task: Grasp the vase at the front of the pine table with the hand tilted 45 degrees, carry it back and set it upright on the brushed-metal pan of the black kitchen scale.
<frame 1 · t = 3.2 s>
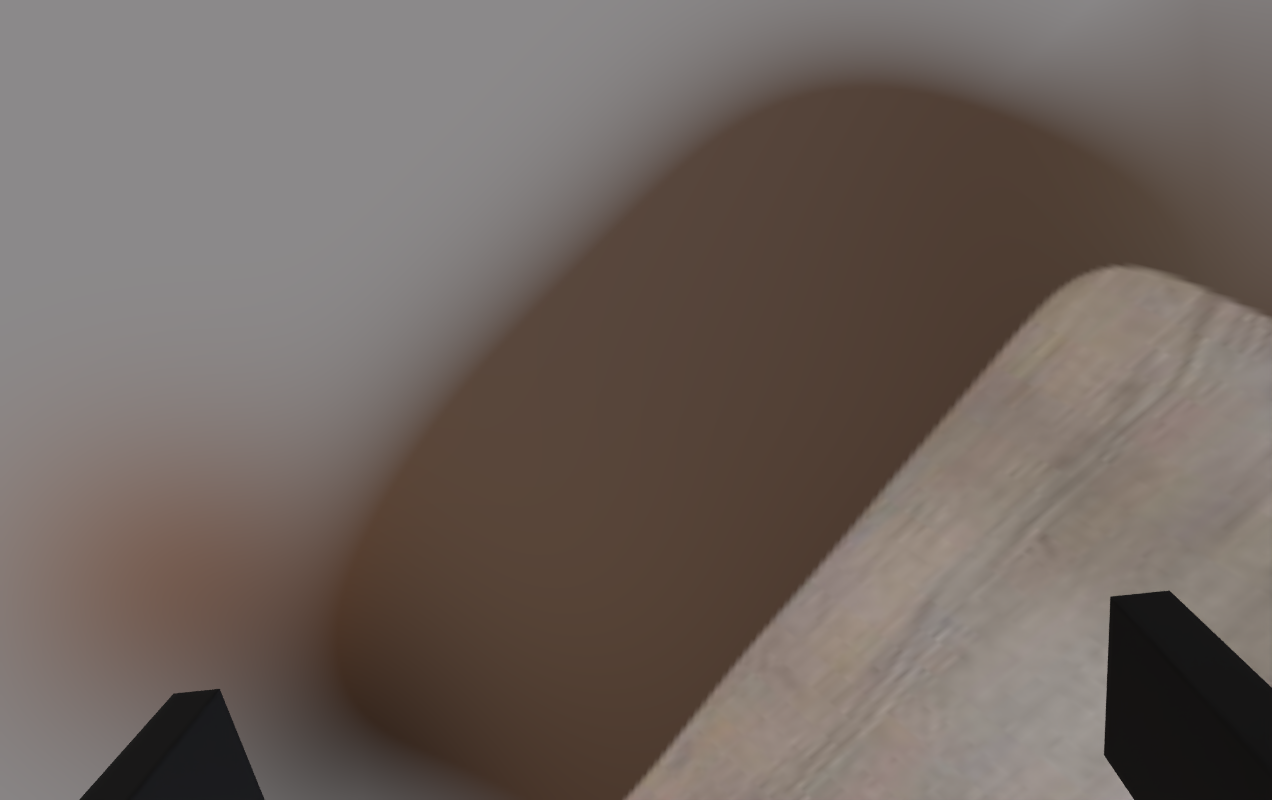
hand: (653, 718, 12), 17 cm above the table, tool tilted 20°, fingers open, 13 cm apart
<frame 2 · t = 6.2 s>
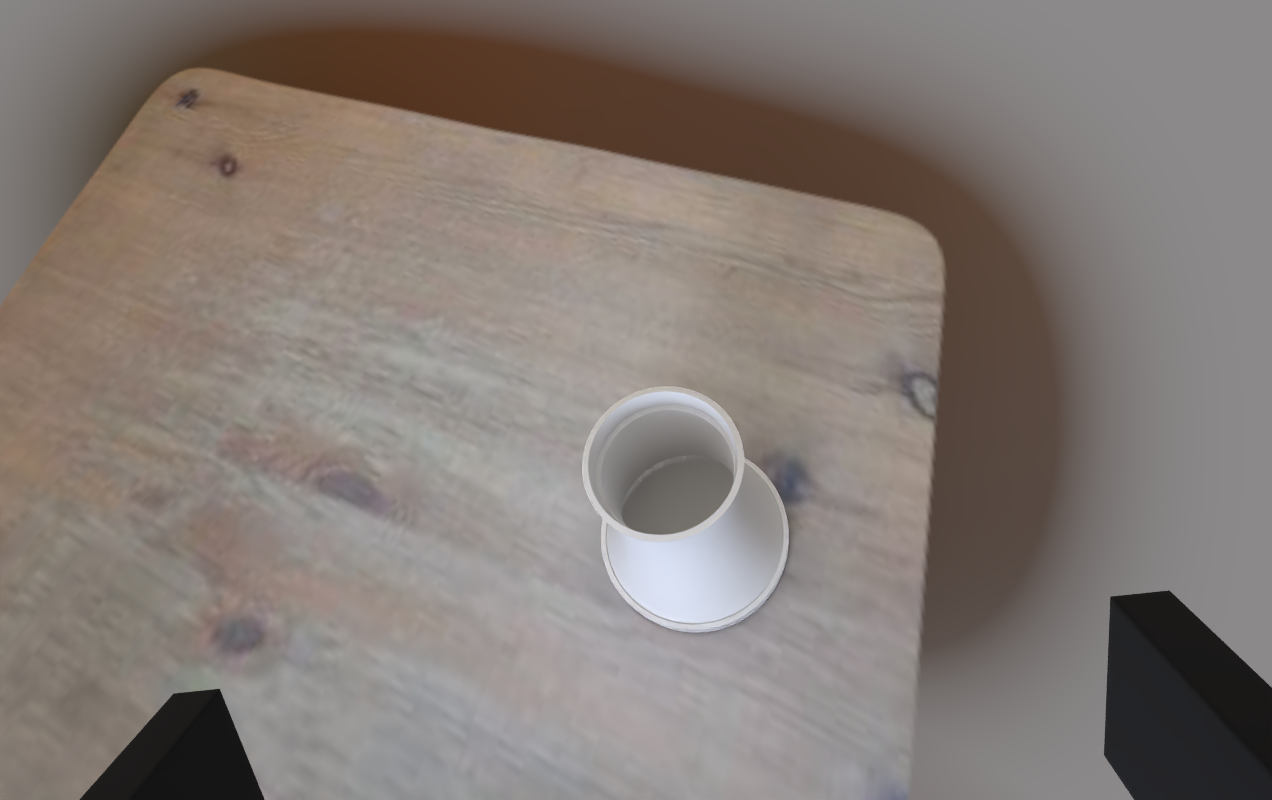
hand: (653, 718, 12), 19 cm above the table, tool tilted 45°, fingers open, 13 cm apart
vase: (695, 539, 32), on the table
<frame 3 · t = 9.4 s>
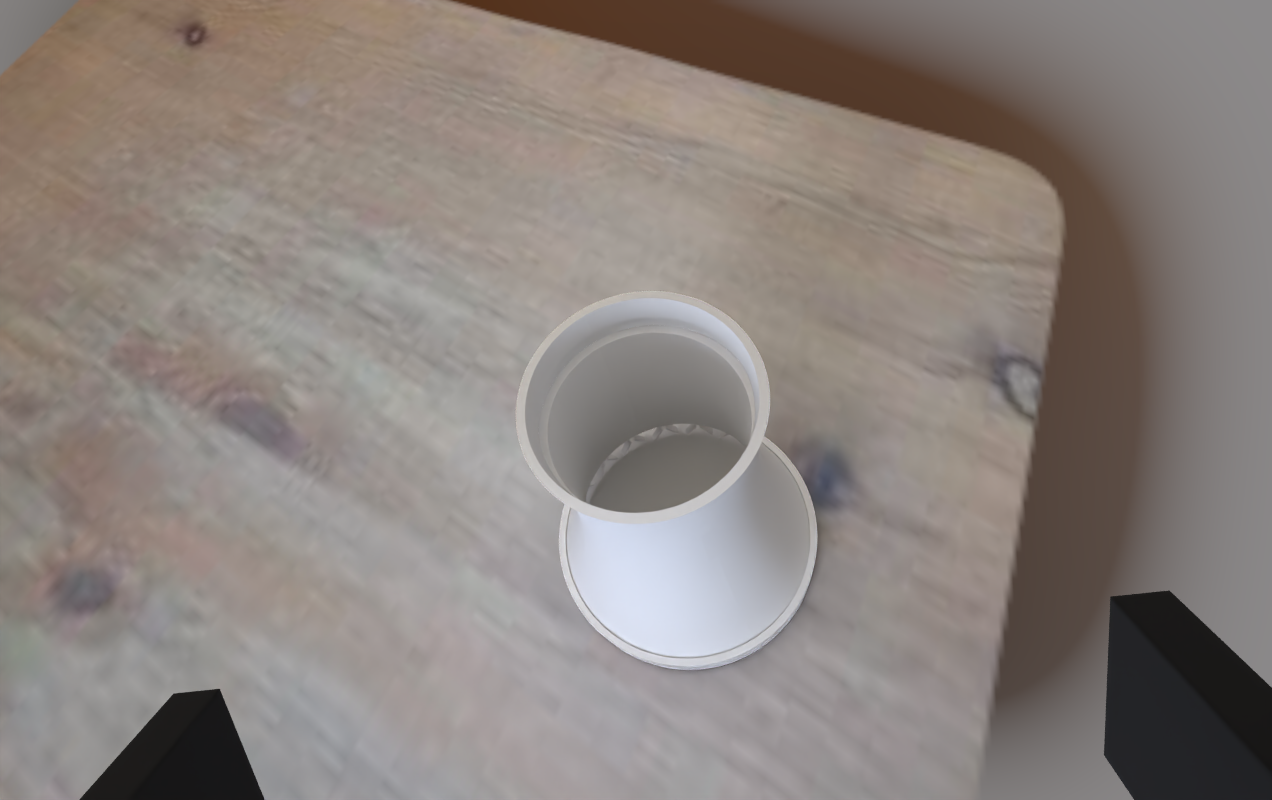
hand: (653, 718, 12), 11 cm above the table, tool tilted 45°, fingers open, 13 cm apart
vase: (688, 541, 24), on the table
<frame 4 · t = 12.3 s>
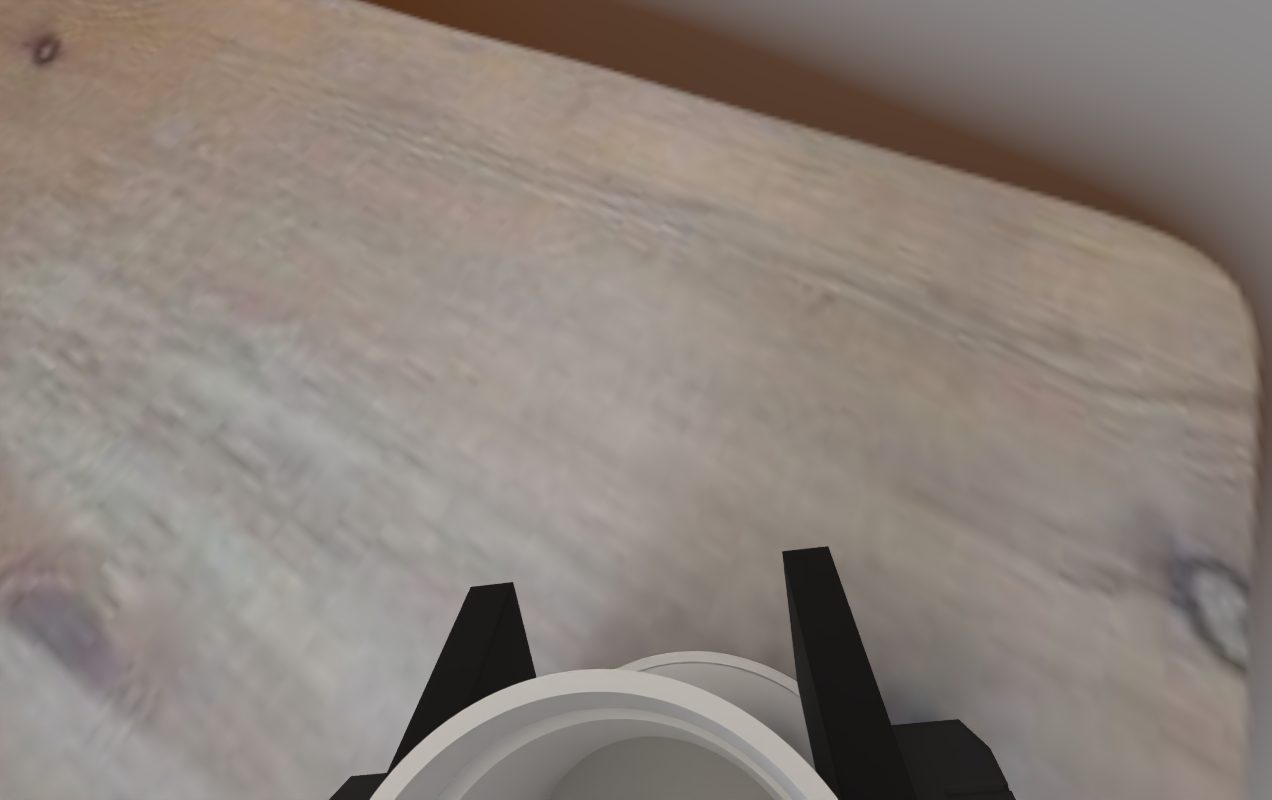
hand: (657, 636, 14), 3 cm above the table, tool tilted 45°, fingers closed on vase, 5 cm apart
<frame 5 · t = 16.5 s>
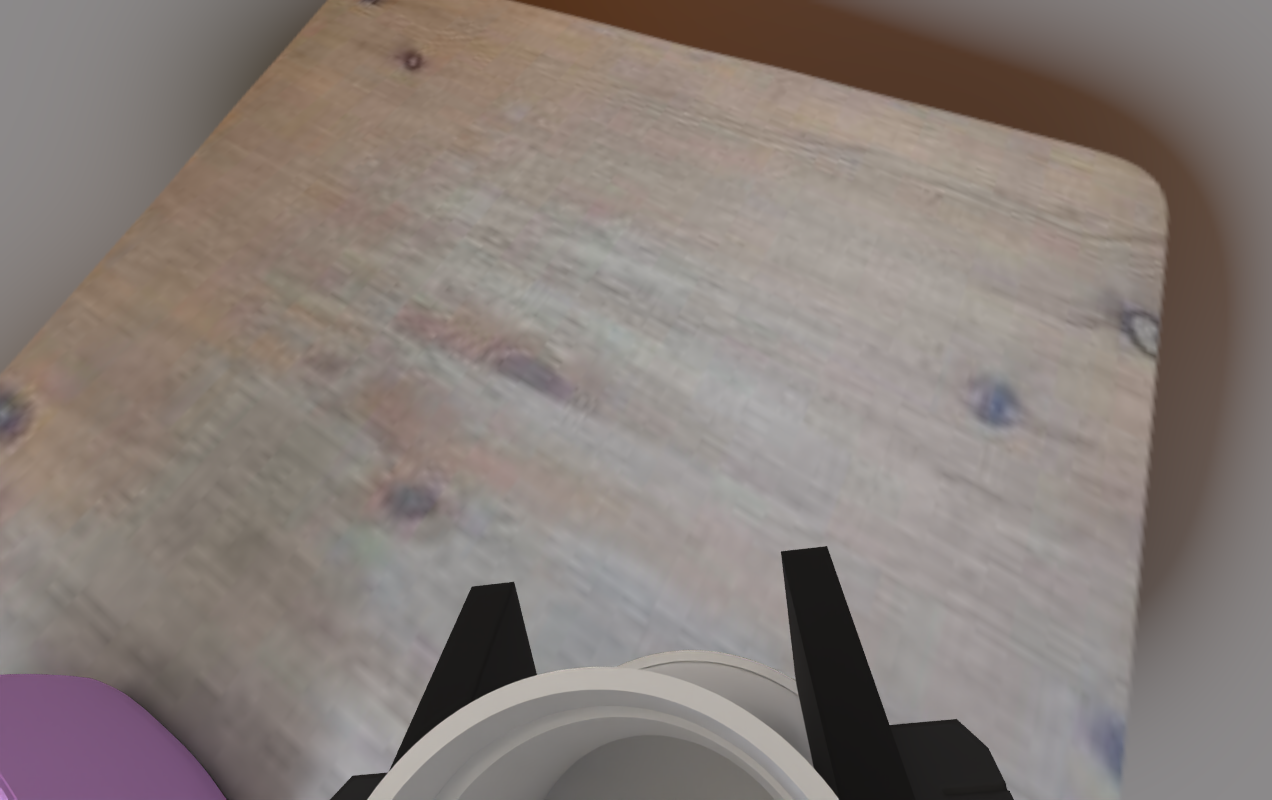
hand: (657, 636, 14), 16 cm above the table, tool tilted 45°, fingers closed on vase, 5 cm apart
when the fingers open (7 cm above the table, at t = 20.9 s): vase stays where it is, resting on scale.
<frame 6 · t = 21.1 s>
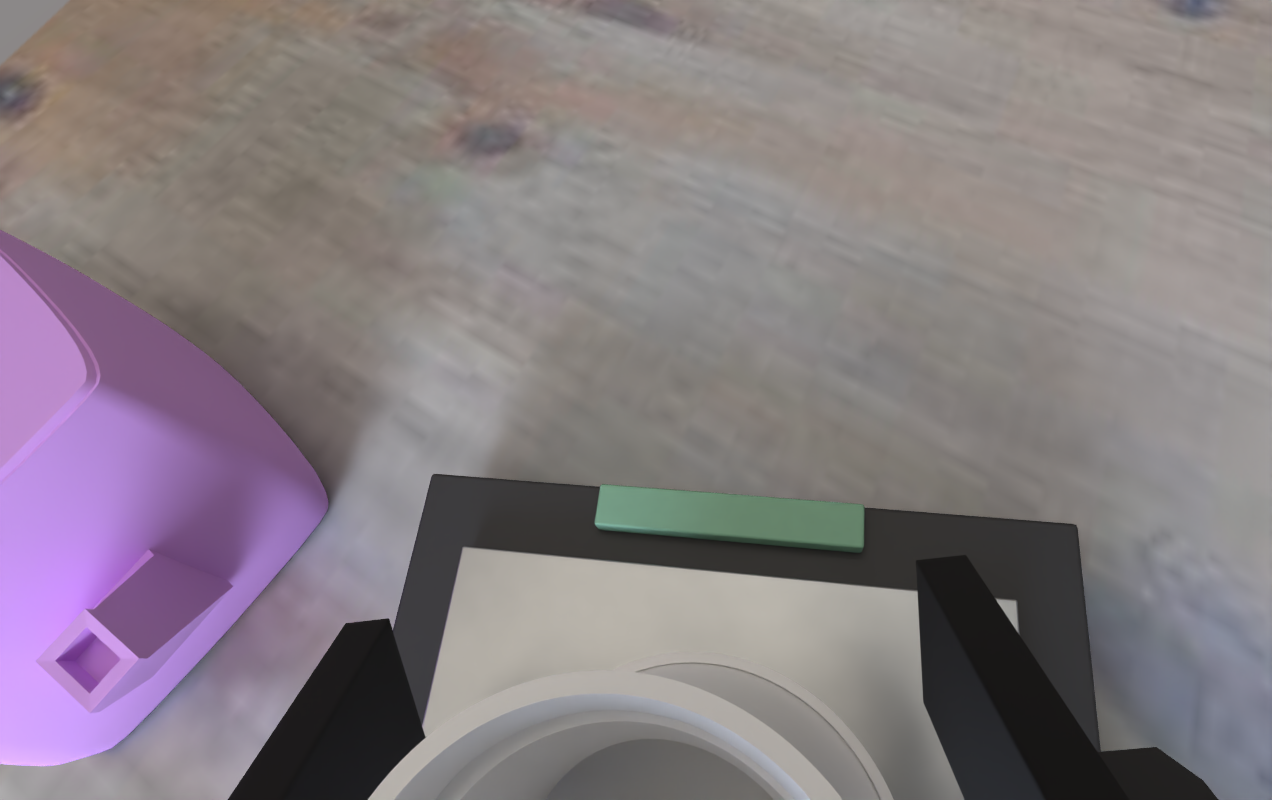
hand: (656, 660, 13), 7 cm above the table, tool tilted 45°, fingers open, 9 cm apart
teapot: (140, 529, 24), on the table
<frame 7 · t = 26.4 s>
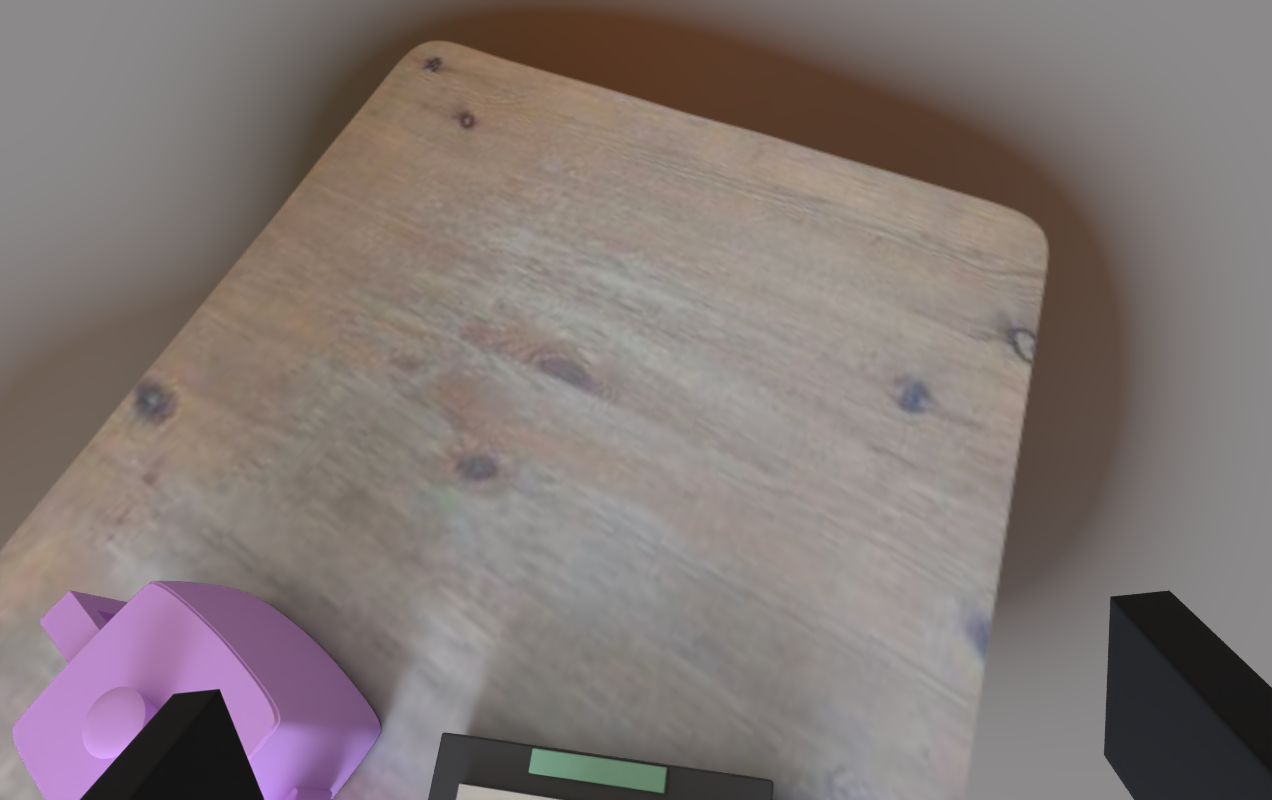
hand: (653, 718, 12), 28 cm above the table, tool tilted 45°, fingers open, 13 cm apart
teapot: (267, 738, 40), on the table
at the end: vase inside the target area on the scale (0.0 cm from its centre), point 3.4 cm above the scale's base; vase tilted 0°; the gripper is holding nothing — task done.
